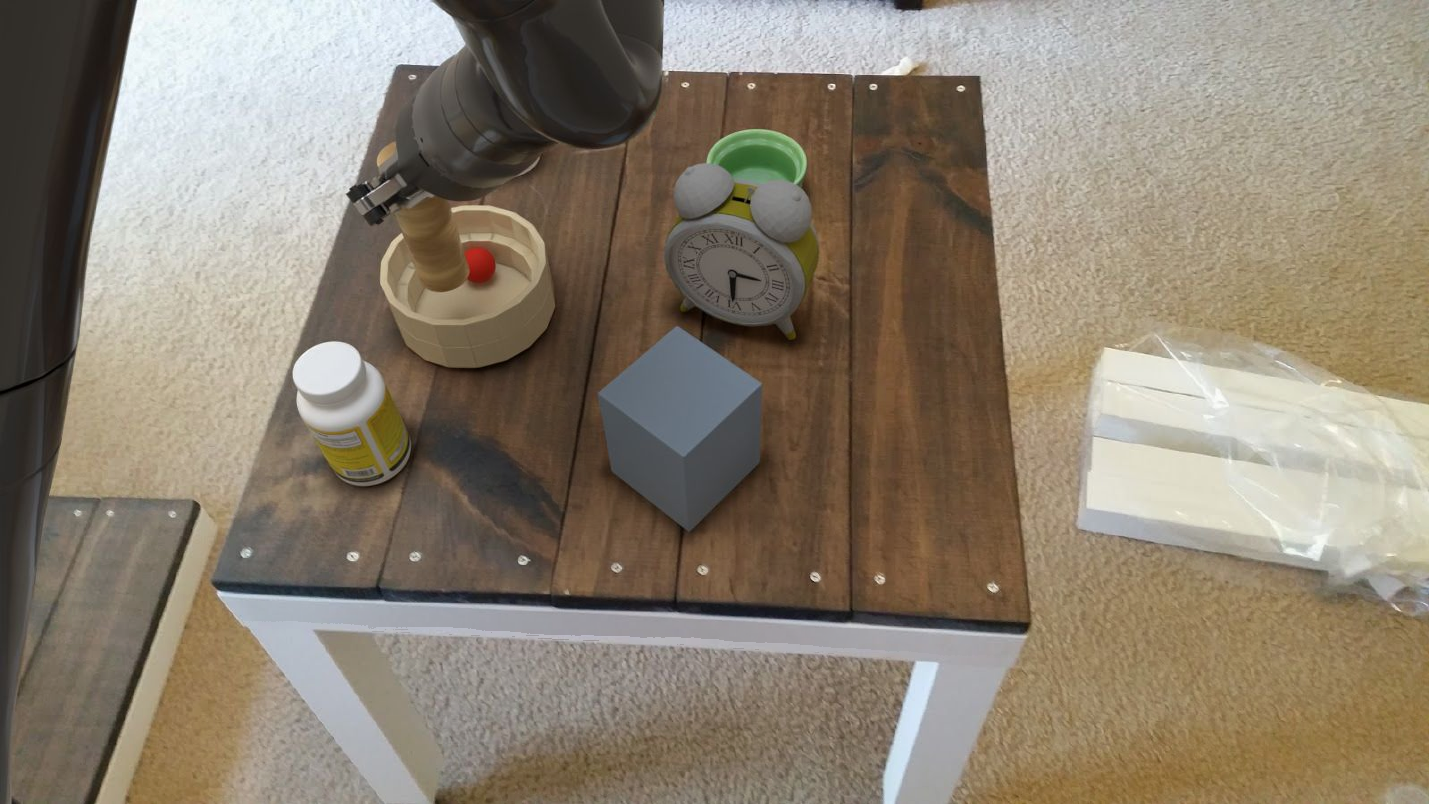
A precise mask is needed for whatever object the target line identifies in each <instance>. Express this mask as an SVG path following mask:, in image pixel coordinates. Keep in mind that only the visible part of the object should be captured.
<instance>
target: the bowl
mask: <svg viewBox="0 0 1429 804" xmlns="http://www.w3.org/2000/svg"><path fill="white" fill-rule="evenodd" d="M451 210H452V213H453V216H454V219H455V223H456V226H457V229H458V232H459V236H460V239H461V242H462V246H463V249H464V252H466V251H467V250H469V249H471V248H475V247H479V248H483V249H486V250H487V251H489V252H490V253H491V254H492V256H493V257H494V259H495V264H496V268H495V272H494V274H493V275H492V277H491V278H490V279H488V280H487V281H485V282H481V283H475V282H471V281H469V280H468V279H466V281H465V282H464V283H463V284H462V285H461V286H459V287H458V288H456V289H454V290H451V291H447V292H433V291H430V290H428V289H426V288H425V287H423V286H422V284H421V283H420V281H419V278H418V275H417V273H416V270H415V267H414V264H413V262H412V259H411V256H410V253H409V251H408V248H407V245H406V242H405V240H404V237H403V234H402V232H401V233H400V234H398V235H397V236H396V237H395V238H394V239H393V240H392V241H391V243H390V244H389V246H388V248H387V250H386V252H385V254H384V255H383V257H382V259H381V261H380V272H379V273H380V274H379V284H380V287H381V289H382V292H383V295H384V297H385V299H386V302H387V305H388V307H389V309H390V312H391V314H392V317H393V320H394V322H395V324H396V327H397V329H398V332H399V333H400V335H401V337H402V339H403V341H404V344H405V345H406V346H407V347H408V348H409V349H411V351H413V352H414V353H415V354H417V355H418V356H419V357H420V358H421V359H423V360H424V361H426V362H430V363H433V364H437V365H440V366H442V367H445V368H454V369H455V368H456V369H459V368H460V369H463V368H464V369H477V368H479V369H480V368H483V367H487V366H490V365H494V364H497V363H498V364H499V363H502V362H505V361H508V360H509V359H511V358H513V357H515V356H517V355H518V354H520V353H521V352H524V351H525V350H527V349H529V348H530V347H531V346H532V345H533V344H534V343H535V342H536V341H537V340H538V338H539V337H541V335H543V333H544V332H545V331H546V330H547V329H548V326H549V324H550V321H551V319H552V317H553V313H554V311H555V308H556V299H555V297H556V296H555V287H554V283H553V277H552V273H551V268H550V263H549V258H548V253H547V247H546V243H545V241H544V240H543V238H542V236H541V235H540V233H539V231H538V230H537V228H536V227H535V225H534V224H533V223H531V222H530V221H528V220H527V219H525V218H524V217H522V216H521V215H519V214H518V213H516V212H515V211H511V210H508V209H504V208H501V207H497V206H493V205H469V204H468V205H467V204H465V205H458V206H454V207H451Z"/></svg>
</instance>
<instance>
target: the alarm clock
mask: <svg viewBox="0 0 1429 804" xmlns="http://www.w3.org/2000/svg"><path fill="white" fill-rule="evenodd" d="M672 197H673V198H672V199H673V204H674V207H675V209H676V211H677V213H678V215H677V217H676V219H675V220H674V223H673V224H672V227H671V228H670V230H669V232H668V234H667V237H666V240H665V244H664V249H663V261H664V264H665V268H666V272H667V274H668V276H669V279H670V280H671V281H672V283H673V285H674V286H675V288H676V289H677V290H678V292H679V293H680V294H681V295H682V296H683V297H684V298H683V301H682V303H681V305H680V306H679V309H680V311H681V312H683V313H687V312H688V311H690V310H692V309H693V308H694V307H696V308H697V309H699V310H701V311H702V312H705V313H706V314H707V315H709V316H711V317H712V318H715V319H718V320H721V321H723V322H727V323H729V324H734V325H739V326H743V327H761V326H762V327H763V326H764V327H765V326H772V325H776V327H778V329H779V330H780V331H781V332H782V334H783V335H784V336H785V337H786V338H787V340H789V341H792V340H794V339H795V338H797V335H796V330H795V328H794V325H793V321H792V318H791V316H792V315H793V314H794V313H795V312H796V311H797V310H798V308H799V307H800V305H801V304H802V302H803V301H804V299H805V296H806V295H807V293H808V289H809V287H810V284H811V282H812V280H813V277H814V275H815V272H816V270H817V268H818V263H819V259H820V253H821V251H820V241H819V236H818V234H817V230H816V228H815V226H814V225H813V223H812V214H813V213H812V212H813V208H812V207H813V206H812V204H811V202H810V197H809V196H808V195H807V193H806V191H804V189H803V188H802V189H801V188H800V187H799V186H797V185H796V184H794V183H792V182H789V181H786V180H772V181H770V182H767V183H765V184H761V183H757V182H754V181H749V180H742V179H733V178H732V176H731V175H730V173H729V172H728V171H726V170H725V169H724V168H722V167H720V166H718V165H716V164H710V163H707V162H703V163H697V164H696V163H695V164H694V165H692V166H688V167H687V168H686V169H684V171H683V172H682V173H681V174H680V176H679V177H678V178H677V180H676V182H675V185H674V188H673V196H672Z"/></svg>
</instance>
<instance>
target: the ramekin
mask: <svg viewBox="0 0 1429 804" xmlns="http://www.w3.org/2000/svg"><path fill="white" fill-rule="evenodd" d="M706 163H710V164H716V165H718V166H720V167H722V168H724V169H725V170H726V171H728V172H729V173H730V175H731V176H732V178H733V179H742V180H749V181H754V182H757V183H761V184H765V183H767V182H770V181H772V180H786V181H789V182H792V183H794V184H796V185H797V186H799V187H800V188H801V189H803V188H802V187H803V182H804V178H805V176H806V173H807V167H808V160H807V155H806V153H805V151H804V149H803V147H802V146H801V145H800V144H799V143H798V142H797V141H796V140H795V139H793V138H792V137H790V136H789V135H787V134H783V133H781V132H778V131H776V130H770V129H763V128H762V129H761V128H758V129H757V128H753V129H750V128H749V129H744V130H740V131H735V132H732V133H730V134H728V135H726V136H724V137H723V138H721V139H719V140H718V141H716V143H714V145H713V146H712V147H711V149H710V150H709V152H708V154H707V157H706Z"/></svg>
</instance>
